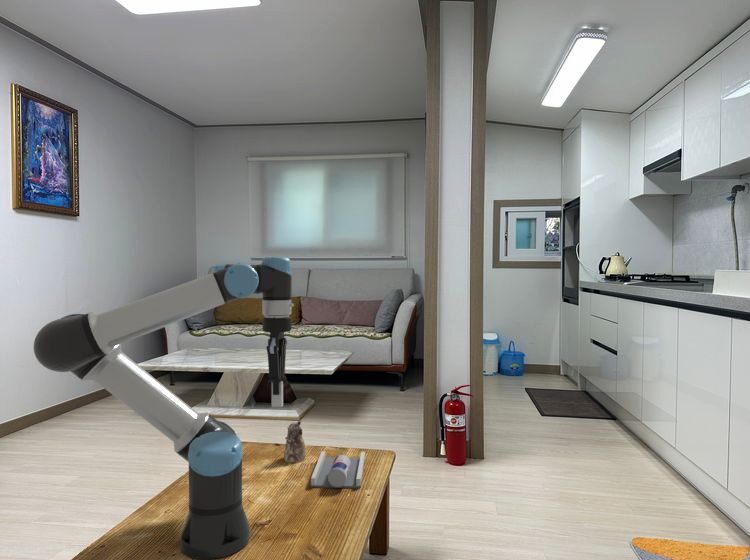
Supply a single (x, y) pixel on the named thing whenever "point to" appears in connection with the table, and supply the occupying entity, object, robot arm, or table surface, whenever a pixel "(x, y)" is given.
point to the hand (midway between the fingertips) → (277, 406)
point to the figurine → (294, 444)
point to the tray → (325, 465)
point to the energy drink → (339, 471)
